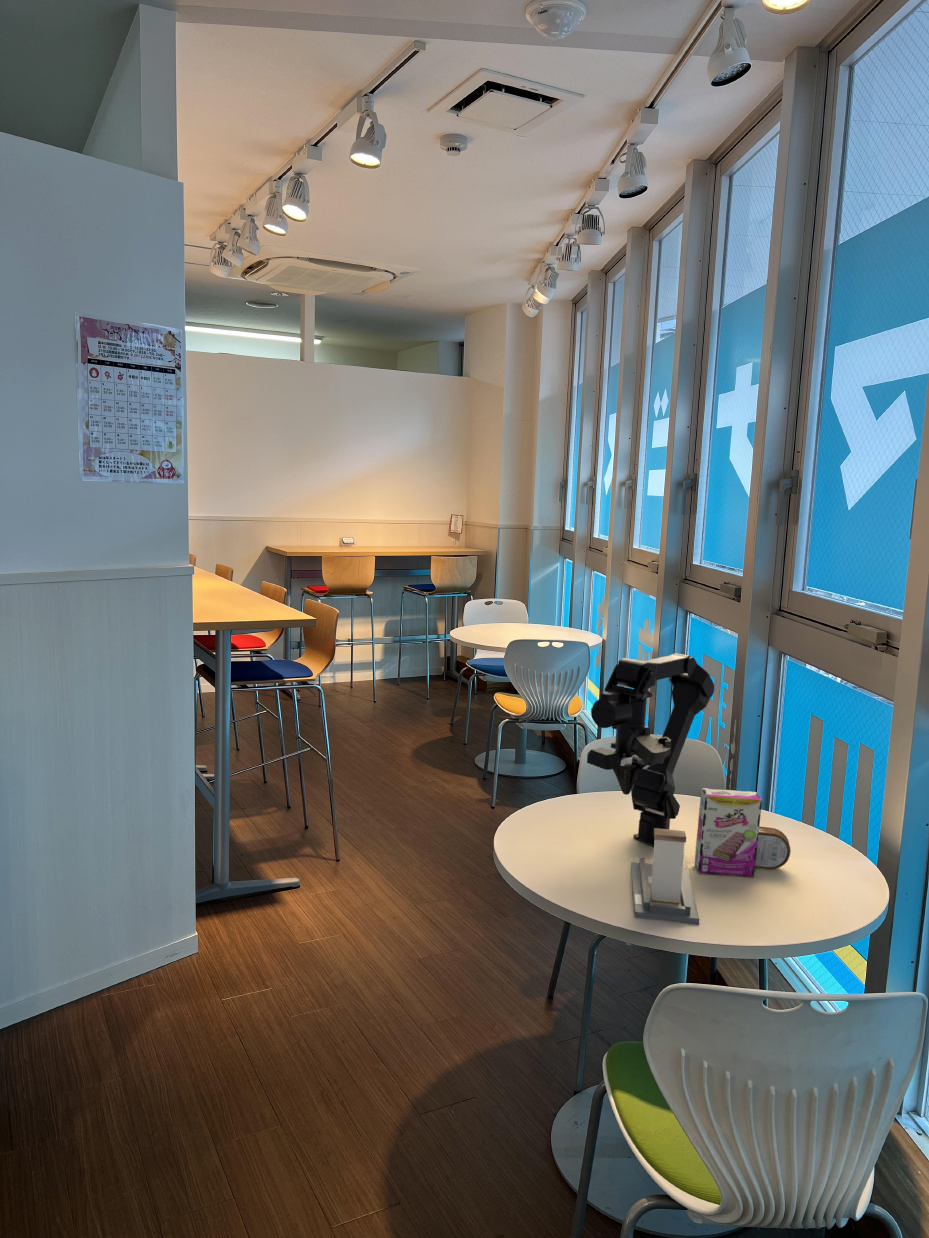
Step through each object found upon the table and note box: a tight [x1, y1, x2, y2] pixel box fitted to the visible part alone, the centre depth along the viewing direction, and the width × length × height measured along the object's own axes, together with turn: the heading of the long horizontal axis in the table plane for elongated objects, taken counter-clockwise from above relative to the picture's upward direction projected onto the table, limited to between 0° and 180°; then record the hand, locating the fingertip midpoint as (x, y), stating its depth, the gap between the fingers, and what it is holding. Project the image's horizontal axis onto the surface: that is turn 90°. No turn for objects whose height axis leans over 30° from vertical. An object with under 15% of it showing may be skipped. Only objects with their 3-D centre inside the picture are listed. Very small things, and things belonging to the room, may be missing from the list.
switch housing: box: [630, 857, 700, 925], centre depth 160 cm, size 22×11×2 cm, turn 171°
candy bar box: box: [694, 787, 763, 878], centre depth 170 cm, size 11×5×16 cm, turn 86°
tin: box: [755, 825, 792, 870], centre depth 174 cm, size 15×3×8 cm, turn 80°
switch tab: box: [651, 828, 687, 903], centre depth 154 cm, size 3×5×12 cm, turn 81°
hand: (626, 794), depth 177 cm, fingers closed
